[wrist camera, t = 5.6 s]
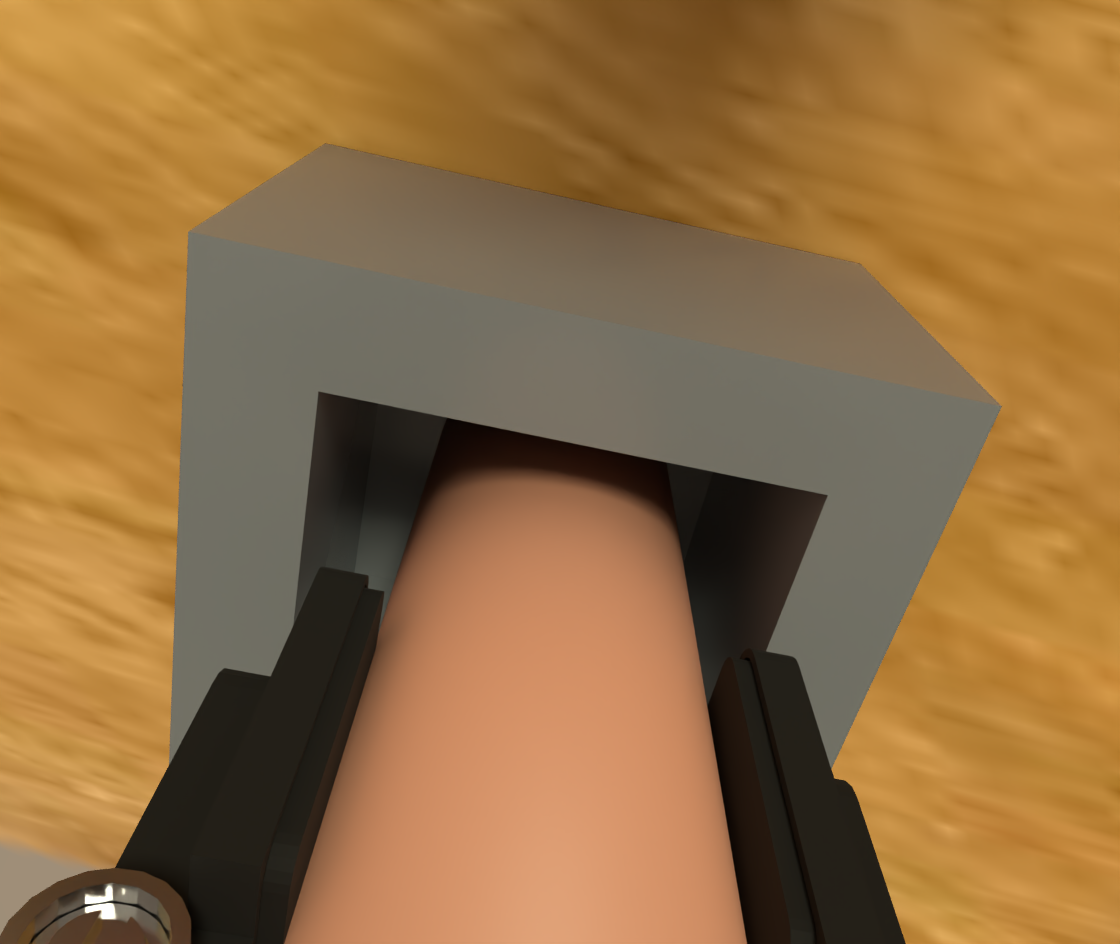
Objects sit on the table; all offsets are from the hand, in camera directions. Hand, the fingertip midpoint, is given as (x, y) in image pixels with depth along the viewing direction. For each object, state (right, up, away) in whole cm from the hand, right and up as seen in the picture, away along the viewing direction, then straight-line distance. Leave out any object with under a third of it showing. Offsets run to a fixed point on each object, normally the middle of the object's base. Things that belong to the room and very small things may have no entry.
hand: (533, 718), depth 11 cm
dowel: (0, +3, +6) cm, 6 cm away
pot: (0, +3, +7) cm, 7 cm away
